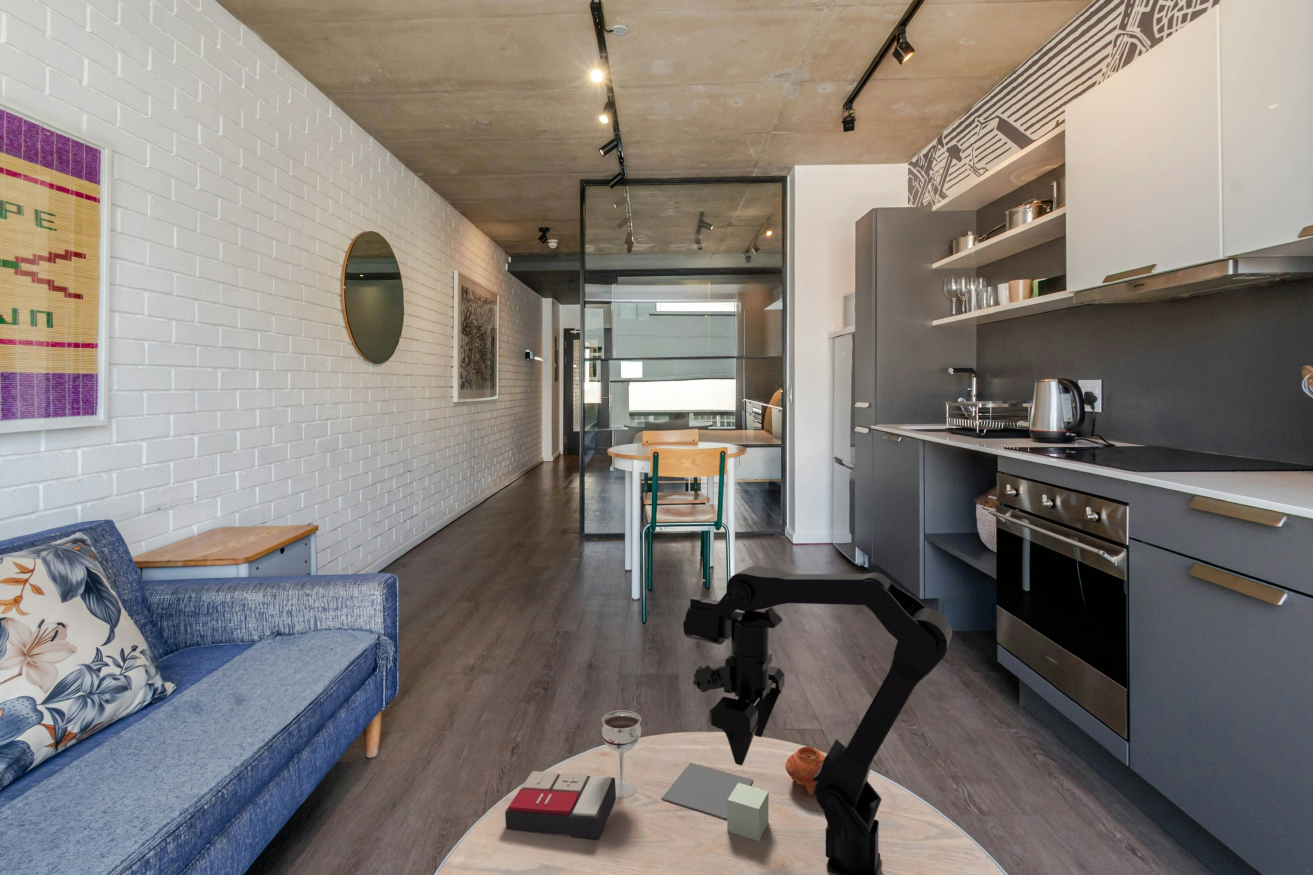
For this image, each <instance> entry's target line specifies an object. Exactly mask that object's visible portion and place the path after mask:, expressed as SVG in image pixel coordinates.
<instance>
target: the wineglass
mask: <svg viewBox="0 0 1313 875" xmlns="http://www.w3.org/2000/svg"><path fill="white" fill-rule="evenodd" d="M641 720H642V719H641V716H640V714H638V713H636V712H635V711H631V710H622V709H621V710H613V711H610V712H608V713H606V714H605V715H603V717H602V719H601V721H602V723H603V724H602V725H603V726H602V729H601V737H602V740H603V742H604V744H605V745H606V746H607V747H608V748H609V749H610V750H612V751H614V752H617V754H618V756H619V779H618V780H615V788H616V798H620V799H621V798H626V797H630V796H632V795H633V794H634V793H635V792H636V790H637V786H636V784H634V783H633V782H632V781H630V780H627V779H625V780H624V762H625V761H624V759H625V758H624V756H625V753H626V752H628V751H631V750H632V749H633V748H634V747H635V746H636V745H637V744H638V743H639V741H640V739H641V736H642V728H641V724H640V723H641Z"/></svg>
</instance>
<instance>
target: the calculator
mask: <svg viewBox="0 0 1313 875" xmlns="http://www.w3.org/2000/svg"><path fill="white" fill-rule="evenodd" d="M545 772H546V773H545ZM532 780H533V781H532ZM615 781H616V778H615V777H612V776H605V775H601V776H600V775H588V774H587V773H572V772H571V773H569V772H562V773H560V774H559V772H555V771H554V772H553V771H537V770H536V771H535V770H533V771H531V773H530V774H529V775H528V777H527V778H526V780H525V781H524V783H523V784H522V786H521V787H520V789H519V790H518V792H517V793H516V795H514V798H512V801H511V802H510V803H509V805H508V806H507V808H506V809H505V811H504V814H505V815H504V816H505V818H504V819H505V829H506V830H511V831H518V832H519V831H520V832H524V833H525V832H527V833H532V834H533V833H534V834H543V835H544V834H547V835H558V836H559V835H561V836H569V837H571V838H572V839H579V840H586V841H587V840H589V841H596V842H597V841H600V840H601V837H602V835H603V832H604V830H605V827H606V825H607V822H608V820H609V817H610V814H611V812H612V809H613V807H614V804H615V802H616V799H617V797H616V788H615ZM522 787H523V788H522ZM521 788H522V789H521Z"/></svg>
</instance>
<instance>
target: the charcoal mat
mask: <svg viewBox="0 0 1313 875" xmlns="http://www.w3.org/2000/svg"><path fill="white" fill-rule="evenodd" d="M753 782H754V779H753V778H748V777H745V776H741V775H737V774H734V773H731V772H726V771H724V770H719V769H715V768H711V767H709V766H705V765H701V764H697V763H695V762H694V763H693V762H689V764H688V765H687V766H686V767H685V768H684V769H683V771H682V773H680V774H679V776H678V777H677V778H676V780H675V781H674V782H673V783H672V784H671V786H670V787H669V789H667V791H666V792H665V793H664V794H663V795H662V797H661V800H664V801H666V802H668V803H672V804H676V805H679V806H682V807H685V808H688V809H692V810H695V811H698V812H702V813H704V814H707V815H711V816H715V817H717V818H721V819H724V820H727V800H728V798H729V797H730V795H731V793H732V792H733V790H734V789H735V787H736V786H737V784H738V783H741V784H745V785H748V786H751V785H752V784H753Z"/></svg>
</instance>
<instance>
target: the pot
mask: <svg viewBox="0 0 1313 875" xmlns="http://www.w3.org/2000/svg"><path fill="white" fill-rule="evenodd" d="M825 757H826V755H824V754H823V753H822V752H820V751H819V750H817V749H816V748H814V747H812V746H803V747H800V748H798V749H797V750H796V751H795V752H794V753H792V754H791V755H790V756H789V757H788V759H787V760H786V762H785V770H786V772H787V774H788V776H789V777H790V778H791V780H792V781H793V782H796V783H798V784H799V785H802V786H805V787H806V790H807V793H808V795H809V797H812V796H813V795H814V789H815V785H816V783H817V781H814V780H813V778H814V776H815V774H816V773H817V771H818V769H819V768H820V766H821V764H822V763H823V761H824V759H825Z"/></svg>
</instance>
